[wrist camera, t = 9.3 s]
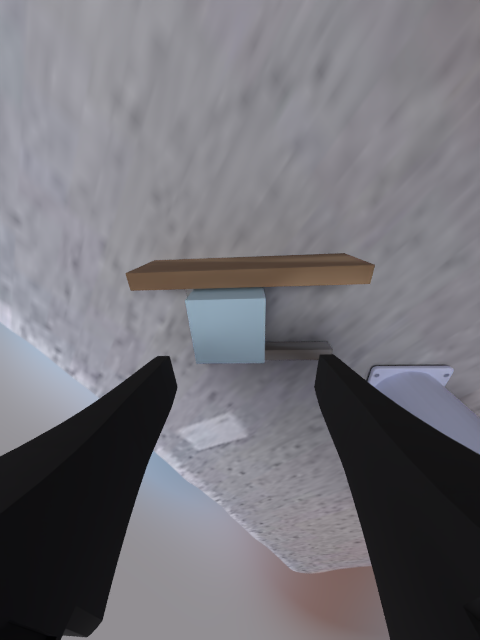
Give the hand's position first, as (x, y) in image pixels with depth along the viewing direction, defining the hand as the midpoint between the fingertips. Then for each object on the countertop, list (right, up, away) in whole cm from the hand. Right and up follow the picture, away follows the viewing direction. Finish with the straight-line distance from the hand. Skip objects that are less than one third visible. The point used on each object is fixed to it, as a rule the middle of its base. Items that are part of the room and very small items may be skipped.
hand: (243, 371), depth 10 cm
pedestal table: (+1, +4, +9) cm, 10 cm away
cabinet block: (-1, +4, +9) cm, 10 cm away
